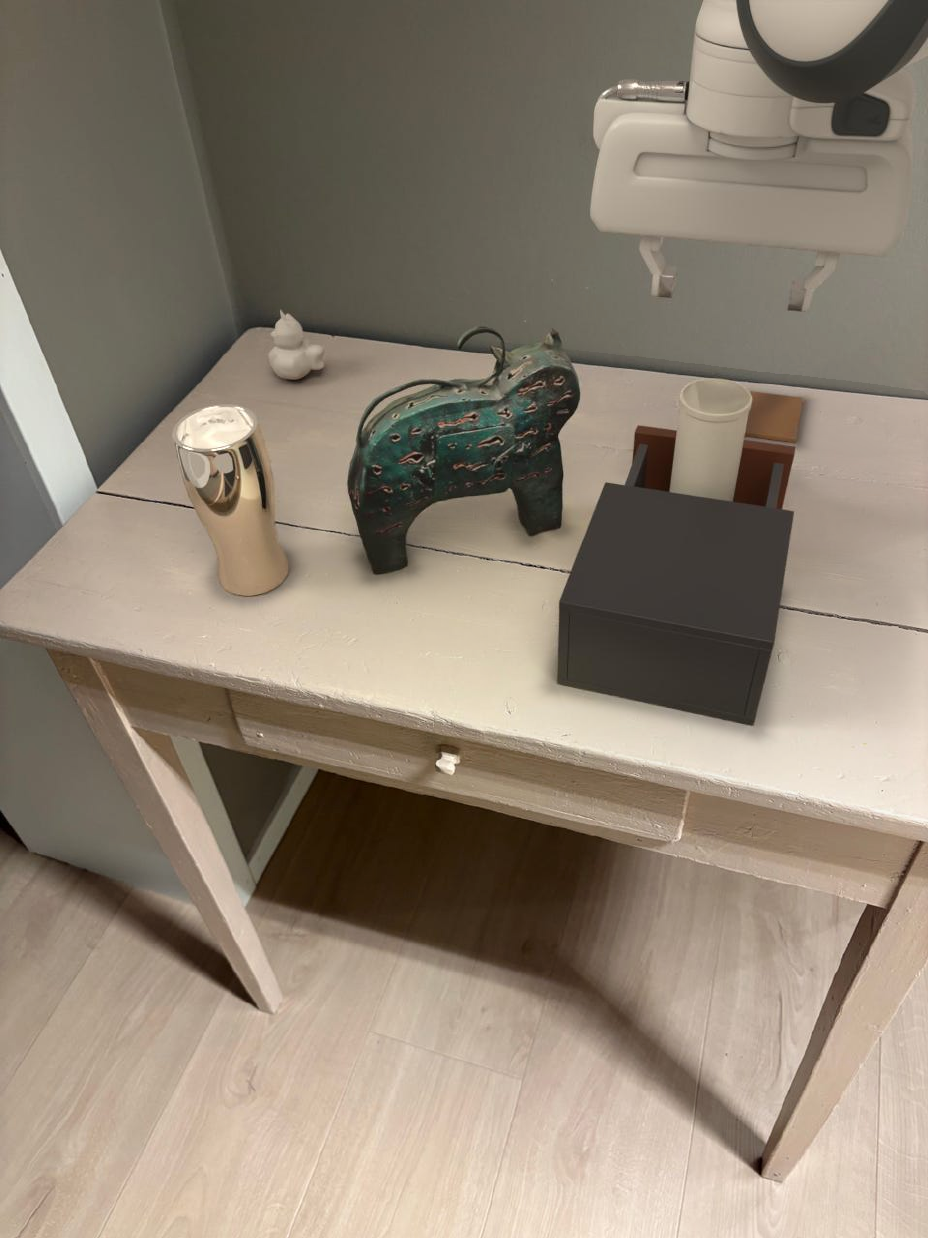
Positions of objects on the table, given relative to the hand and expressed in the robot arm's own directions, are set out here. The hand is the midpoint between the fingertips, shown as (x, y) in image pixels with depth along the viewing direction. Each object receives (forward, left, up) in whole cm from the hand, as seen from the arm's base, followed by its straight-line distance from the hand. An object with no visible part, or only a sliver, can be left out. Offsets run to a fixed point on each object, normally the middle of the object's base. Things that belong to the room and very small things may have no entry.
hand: (729, 300), depth 68 cm
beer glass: (+36, +14, -23) cm, 45 cm away
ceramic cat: (+19, +5, -23) cm, 30 cm away
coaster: (-3, -22, -23) cm, 32 cm away
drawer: (0, -1, -22) cm, 22 cm away
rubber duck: (+47, -18, -23) cm, 55 cm away
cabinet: (0, +12, -23) cm, 25 cm away
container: (0, 0, -21) cm, 21 cm away
